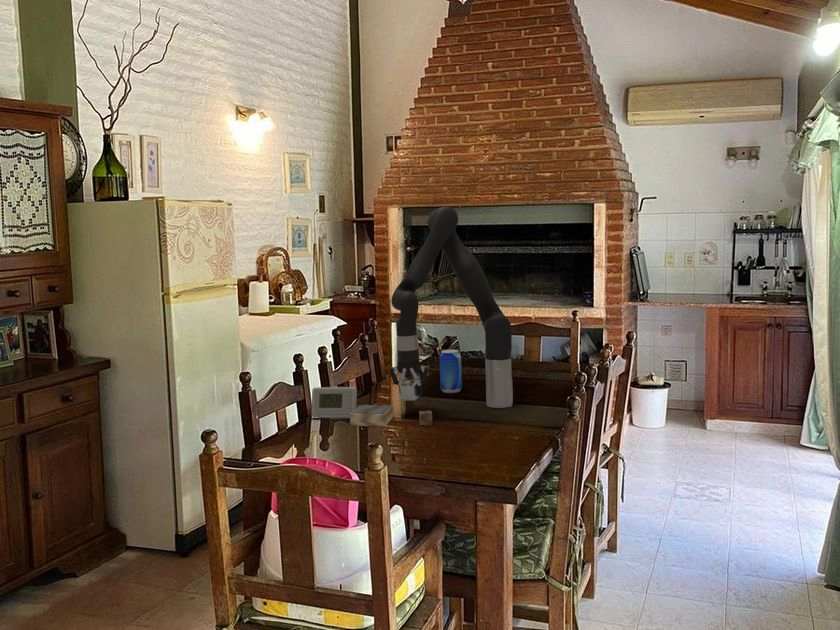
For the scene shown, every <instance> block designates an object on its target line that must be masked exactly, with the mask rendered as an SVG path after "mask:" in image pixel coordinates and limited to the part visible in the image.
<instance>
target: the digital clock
mask: <svg viewBox="0 0 840 630" xmlns="http://www.w3.org/2000/svg"><path fill="white" fill-rule="evenodd" d="M357 401H358V390H357V388H356V387H354V386H325V387H321V386H320V387H313V388H312V391H311V409H310V411H311V413H310V414H311V416H313V417H318V418H330V419H329V420H348V419H349V420H350V414H351V413H352V412H353V411H354V410H355V409H356V408H357V407H358V406H357V405H358V404H357ZM315 414H316V415H315Z"/></svg>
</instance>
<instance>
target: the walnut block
mask: <svg viewBox="0 0 840 630" xmlns="http://www.w3.org/2000/svg"><path fill="white" fill-rule="evenodd" d="M418 412H419V413H418V414H419V417H418V418H419V425H424V426H433V413H432V410H419V411H418Z"/></svg>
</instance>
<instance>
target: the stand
mask: <svg viewBox="0 0 840 630" xmlns="http://www.w3.org/2000/svg"><path fill="white" fill-rule="evenodd" d="M393 418H394V405H390V404H389V405H386V404H385V405H383V404H380V405H379V404H377V405H376V404H373V405H372V404H370V405H369V404H361V405H360V404H359V405H358V406H357V408H356V409H355V410H354V411H353V412H352V413H351V414H350V419H349V422H350V425H349V426H350V427H354V426H356V427H386V426H387V425H388V424H389V423H390V422H391V421H392V419H393Z"/></svg>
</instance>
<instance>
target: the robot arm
mask: <svg viewBox="0 0 840 630" xmlns="http://www.w3.org/2000/svg"><path fill="white" fill-rule="evenodd" d="M458 223H459V215H458V213H457V211H456V210H455V209H453V208H452V207H450V206H441V207H438V208H437V209H435V210H433V211H432V212H431V213H429V215H428V218H427V226H428V229H429V233H428V235H427V238H426V240H425V241H424V243H423V245H422V246H421V247H420V249H419V250H418V252H417V254H416V255H415V257H414V258H413V260H412V261H411V264H410V266H409V268H408V270H407V272H406V274H405V276H404V278H403V279H402V280H401V281H400V283H399V284H398V286H397V287H396V288H395V290H394V291H393V293H392V295H391V305H392V307H393V309H395V310H397V311H400V314H399V315H400V316H399V318H397V320H396V323H395V325H396V327H395V328H396V330H395V331H396V353H397V354H396V355H397V366H396V365H395V366H391V367H390V368H389V373H390V377H391V381H392V383H393V385H397V386H398V388H399V394H400V386H401V385H402V384H403V383H404V382H405V379H406V378H413V380H416V382H417V393H418V396H419V397H420V396H422V394H423V385H425V384H426V383H427V381H428V375H429V370H430V366H429V365H422V364H421V363H420V348H419V338H418V329H417V319H418V314H419V298H418V296H417V295H416V292H417V290H418V289H419V290H420V289H421V288H423V286H425V282H426V281H427V279H428V277H429V275H430V273H431V270H432V268H433V265H434V263H435V261H436V260H437V258H438V256H439V255H440V252H441V250H443V252H444V255H445V256H446V258H447V261H448V263H449V265H450V266H451V268H452V270H453V272H454V275H455V277H456V278H457V281H458V282H459V284H460V287H461V288H462V290H463V291H464V293H465V294H466V296H467V297H468V299H469V300H470V301H471V303H472V304H473V306H474V307H475V309H476V311H477V313H478V316H479V318H480V321H481V323H482V326H483V329H484V334H485V335H484V337H485V341H484V342H485V349H484V350H485V351H484V361H485V362H484V363H485V364H484V365H485V395H486V398H485V399H486V400H485V401H486V406H487V407H489V408H494V409H502V408H503V409H505V408H512V406H513V403H514V401H513V400H514V398H513V397H514V396H513V391H514V390H513V377H512V350H513V349H512V347H513V345H512V344H513V343H512V341H513V340H512V339H513V337H512V331H513V330H512V323H511V322H510V320H509V319H508V317H507V316H506V315H505V314H504V313H503V311H502V310H501V308H500V307H499V305H498V303H497V302H496V300H495V298H494V296H493V294H492V290H491V287H490V284H489V282H488V279H487V277H486V275H485V272H484V270H483V268H482V267H481V265H480V263H479V261H478V260H477V258H476V257H475V256H474V254H473V253H472V252H470V250H469V249H468V248H467V247H466V246H465V245H464V243H463V242H462V241H461V239H460V237H459V235H458V234H457V231H456V228H457V227H458ZM420 370H421V371H422V373H423V376H422V379H421V376H420V374H419V372H420ZM397 372H399V373H400V374H401V375H400V378H399V380H398V377H397Z"/></svg>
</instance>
